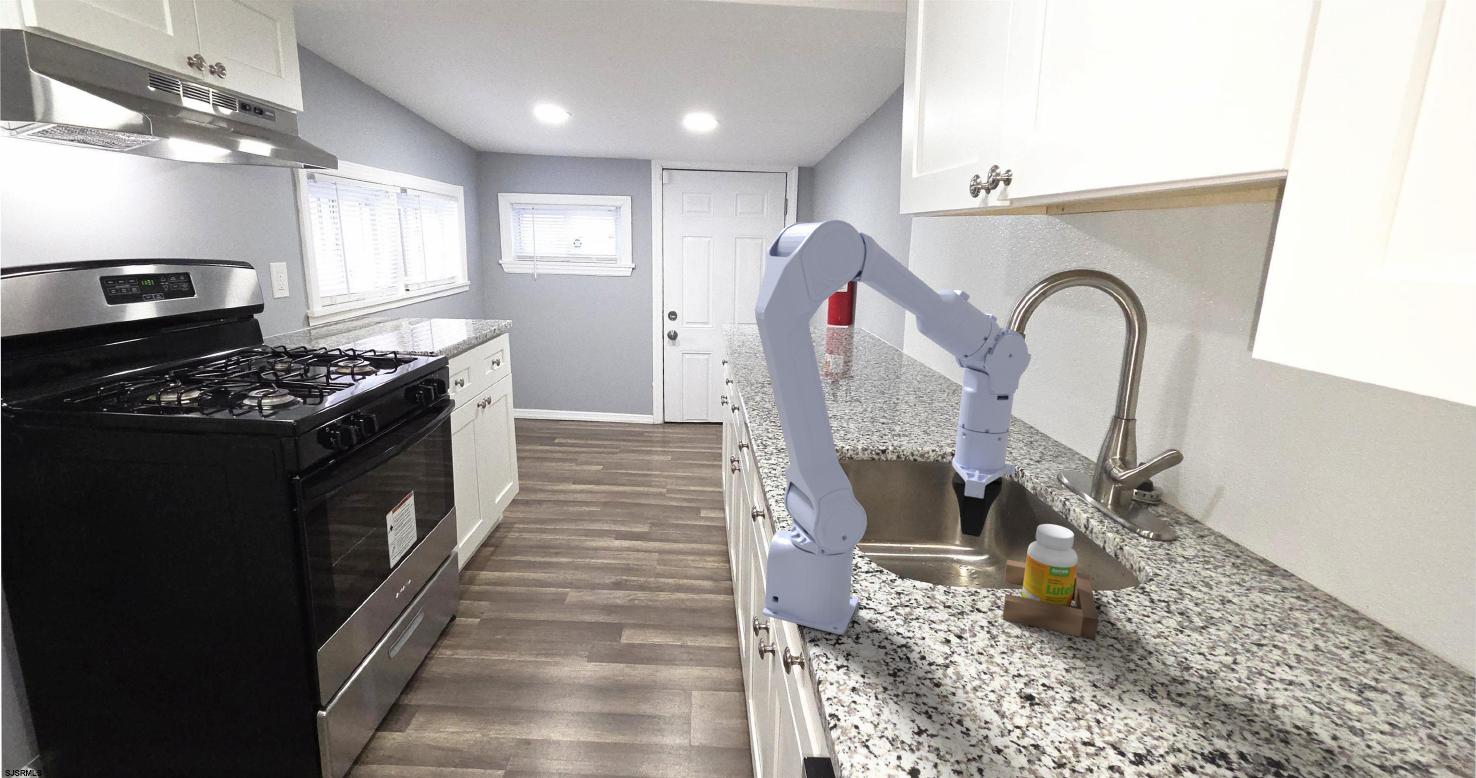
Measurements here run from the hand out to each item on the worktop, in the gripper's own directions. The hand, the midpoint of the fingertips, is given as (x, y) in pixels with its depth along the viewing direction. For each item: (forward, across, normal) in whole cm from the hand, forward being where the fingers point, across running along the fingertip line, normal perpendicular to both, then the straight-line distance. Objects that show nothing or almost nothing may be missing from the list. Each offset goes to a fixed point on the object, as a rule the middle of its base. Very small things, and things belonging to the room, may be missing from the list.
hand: (971, 533), depth 80 cm
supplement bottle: (+8, 0, -9) cm, 12 cm away
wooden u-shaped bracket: (+8, 0, -9) cm, 11 cm away
